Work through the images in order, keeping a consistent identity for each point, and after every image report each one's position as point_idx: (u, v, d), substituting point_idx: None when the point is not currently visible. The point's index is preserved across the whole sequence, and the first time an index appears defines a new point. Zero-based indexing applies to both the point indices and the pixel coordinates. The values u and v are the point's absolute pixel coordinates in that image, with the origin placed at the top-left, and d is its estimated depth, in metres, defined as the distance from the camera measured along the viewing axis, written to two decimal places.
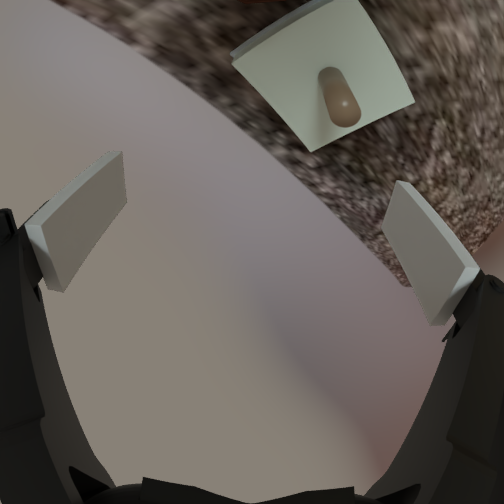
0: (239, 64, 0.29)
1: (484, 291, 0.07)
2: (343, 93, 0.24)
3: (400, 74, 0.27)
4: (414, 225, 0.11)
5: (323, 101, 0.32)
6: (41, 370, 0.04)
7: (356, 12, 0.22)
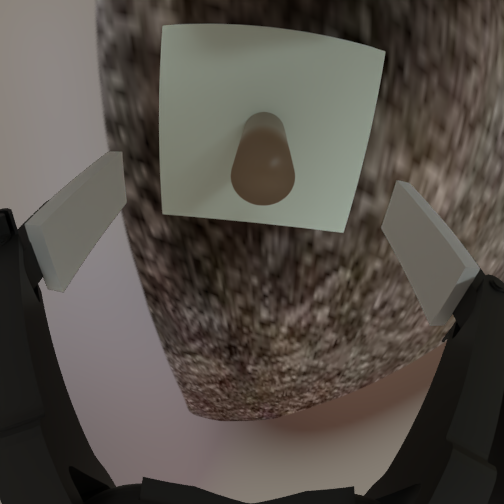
0: (170, 33, 0.16)
1: (484, 291, 0.07)
2: (281, 145, 0.14)
3: (354, 187, 0.23)
4: (414, 225, 0.11)
5: (229, 155, 0.22)
6: (41, 370, 0.04)
7: (368, 76, 0.18)
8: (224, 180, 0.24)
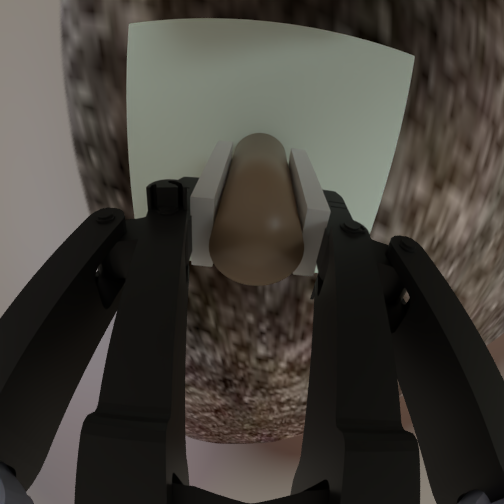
0: (139, 32, 0.12)
1: (335, 239, 0.08)
2: (284, 197, 0.10)
3: (369, 225, 0.19)
4: (293, 184, 0.13)
5: None
6: (176, 363, 0.05)
7: (394, 87, 0.14)
8: None
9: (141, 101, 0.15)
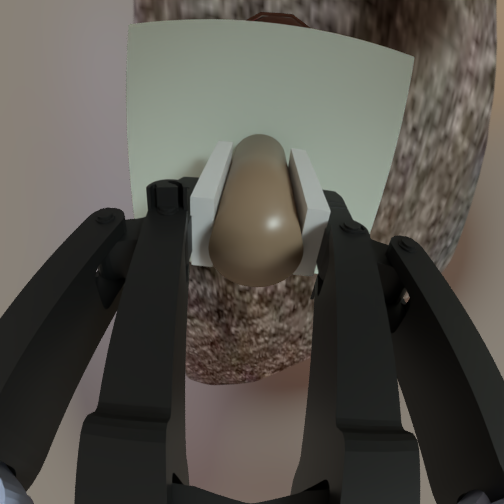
0: (138, 33, 0.12)
1: (335, 239, 0.08)
2: (284, 199, 0.10)
3: (369, 226, 0.19)
4: (293, 184, 0.13)
5: None
6: (176, 363, 0.05)
7: (393, 88, 0.14)
8: None
9: (141, 102, 0.15)
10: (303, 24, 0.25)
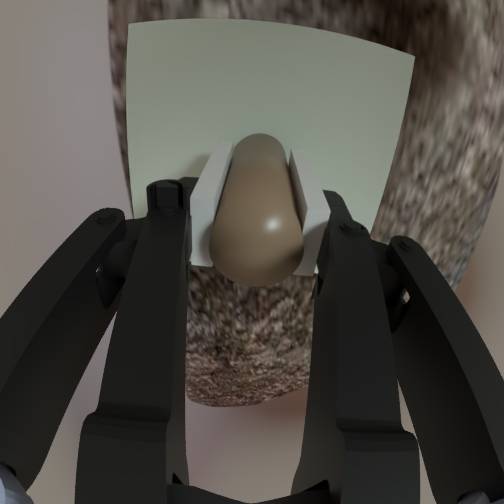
0: (138, 32, 0.12)
1: (335, 239, 0.08)
2: (284, 198, 0.10)
3: (369, 225, 0.19)
4: (293, 184, 0.13)
5: None
6: (176, 363, 0.05)
7: (394, 87, 0.14)
8: None
9: (141, 101, 0.15)
10: None
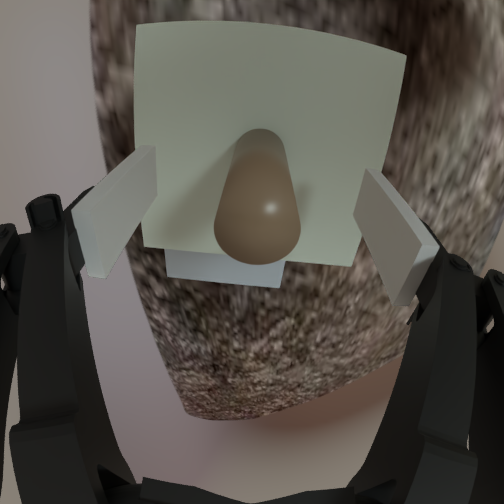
0: (146, 33, 0.13)
1: (445, 271, 0.08)
2: (282, 183, 0.11)
3: None
4: (379, 209, 0.12)
5: (218, 181, 0.19)
6: (77, 363, 0.05)
7: (386, 85, 0.14)
8: (212, 210, 0.20)
9: (148, 98, 0.16)
10: None
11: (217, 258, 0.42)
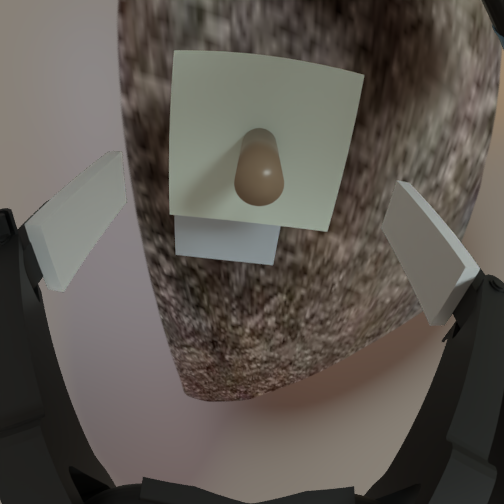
0: (181, 57, 0.20)
1: (484, 291, 0.07)
2: (274, 159, 0.18)
3: (336, 192, 0.28)
4: (414, 225, 0.11)
5: (229, 164, 0.26)
6: (41, 370, 0.04)
7: (349, 97, 0.22)
8: (224, 186, 0.28)
9: (181, 104, 0.23)
10: None
11: (220, 237, 0.49)
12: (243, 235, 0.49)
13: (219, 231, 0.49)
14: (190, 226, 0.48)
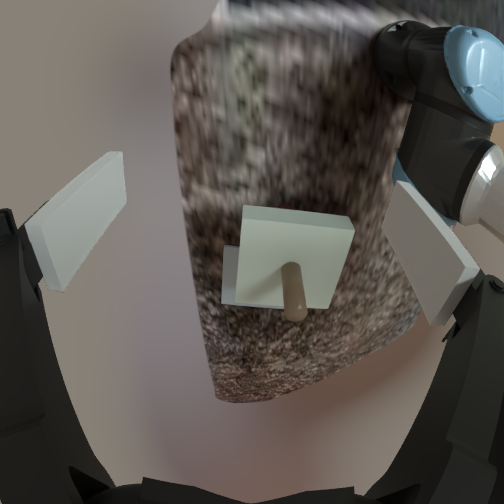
0: (246, 223, 0.41)
1: (484, 291, 0.07)
2: (302, 300, 0.39)
3: (333, 290, 0.48)
4: (414, 225, 0.11)
5: (273, 279, 0.47)
6: (41, 370, 0.04)
7: (344, 243, 0.42)
8: (269, 289, 0.48)
9: (246, 248, 0.43)
10: None
11: None
12: None
13: None
14: (233, 286, 0.69)
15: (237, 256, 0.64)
